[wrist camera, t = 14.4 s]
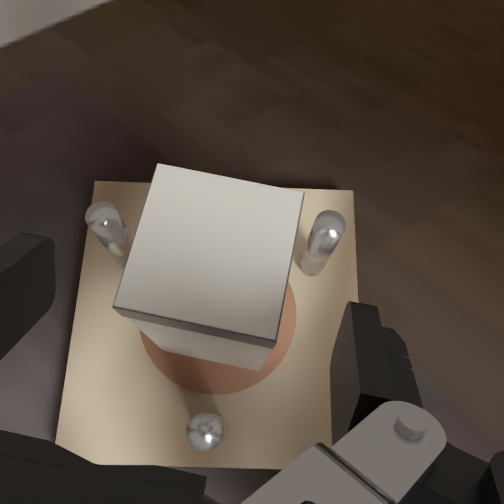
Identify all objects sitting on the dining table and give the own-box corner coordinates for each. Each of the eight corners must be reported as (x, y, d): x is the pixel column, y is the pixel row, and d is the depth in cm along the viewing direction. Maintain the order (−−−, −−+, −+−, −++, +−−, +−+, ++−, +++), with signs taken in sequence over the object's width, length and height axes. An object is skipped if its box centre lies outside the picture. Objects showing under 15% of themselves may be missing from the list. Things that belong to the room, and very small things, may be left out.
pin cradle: (347, 200, 25) (380, 135, 20) (359, 468, 21) (405, 488, 15) (101, 191, 25) (60, 122, 19) (62, 460, 21) (-6, 477, 15)
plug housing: (280, 277, 23) (305, 191, 14) (260, 372, 21) (276, 342, 13) (186, 257, 23) (156, 161, 14) (161, 351, 21) (111, 306, 13)
